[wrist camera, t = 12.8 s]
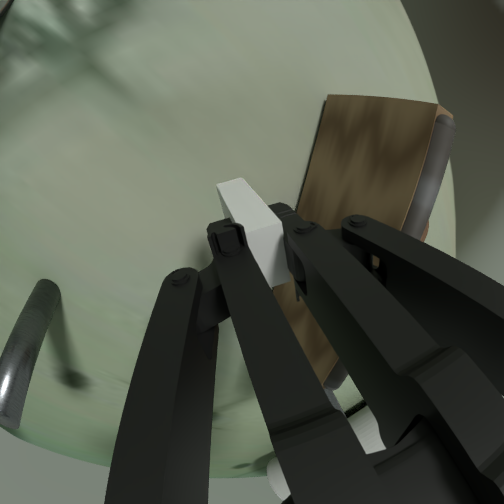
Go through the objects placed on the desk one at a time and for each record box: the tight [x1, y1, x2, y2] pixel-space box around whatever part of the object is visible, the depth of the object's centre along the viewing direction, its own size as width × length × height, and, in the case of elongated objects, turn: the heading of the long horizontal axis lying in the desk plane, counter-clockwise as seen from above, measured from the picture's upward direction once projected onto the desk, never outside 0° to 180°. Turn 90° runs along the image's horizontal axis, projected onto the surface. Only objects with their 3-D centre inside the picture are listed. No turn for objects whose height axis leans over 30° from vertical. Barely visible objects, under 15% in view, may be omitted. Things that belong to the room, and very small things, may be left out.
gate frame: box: [0, 220, 429, 429], centre depth 18 cm, size 18×30×15 cm, turn 77°
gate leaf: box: [273, 95, 456, 390], centre depth 20 cm, size 20×2×13 cm, turn 167°
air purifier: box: [267, 405, 386, 501], centre depth 49 cm, size 27×17×40 cm
